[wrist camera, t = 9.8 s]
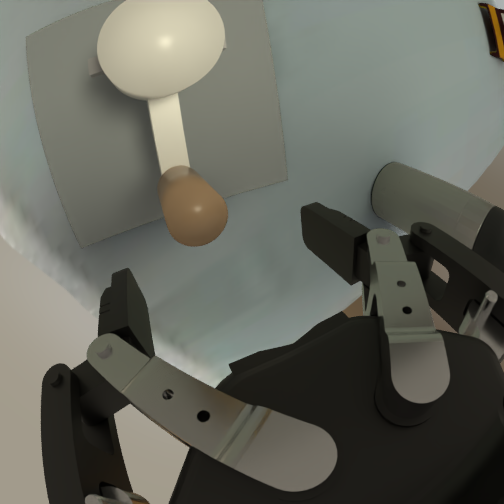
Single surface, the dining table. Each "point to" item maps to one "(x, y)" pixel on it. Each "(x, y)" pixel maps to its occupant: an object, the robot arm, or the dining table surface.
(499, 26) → the decorative lantern
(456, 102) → the dining table surface
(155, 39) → the cream maraca
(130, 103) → the board
